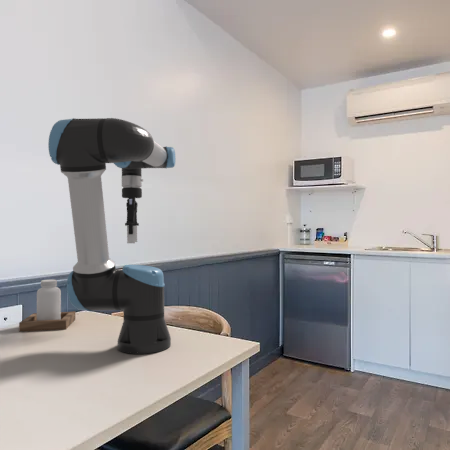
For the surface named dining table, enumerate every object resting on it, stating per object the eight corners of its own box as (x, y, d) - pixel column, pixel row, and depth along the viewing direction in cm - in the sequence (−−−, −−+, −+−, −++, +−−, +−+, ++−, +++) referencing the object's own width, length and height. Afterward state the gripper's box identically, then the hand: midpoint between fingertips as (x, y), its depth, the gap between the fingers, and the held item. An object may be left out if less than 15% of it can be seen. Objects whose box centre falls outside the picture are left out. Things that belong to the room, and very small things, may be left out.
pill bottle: (55, 324, 141) (54, 281, 141) (32, 325, 141) (32, 282, 141) (64, 319, 149) (64, 278, 149) (43, 319, 149) (42, 279, 149)
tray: (66, 329, 138) (65, 320, 138) (19, 331, 136) (19, 322, 136) (75, 319, 153) (75, 311, 153) (33, 321, 151) (33, 313, 151)
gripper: (139, 184, 144) (140, 243, 144) (143, 190, 169) (143, 241, 169) (118, 184, 143) (119, 244, 143) (124, 190, 168) (125, 241, 168)
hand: (132, 242), depth 156 cm, fingers open, 13 cm apart
